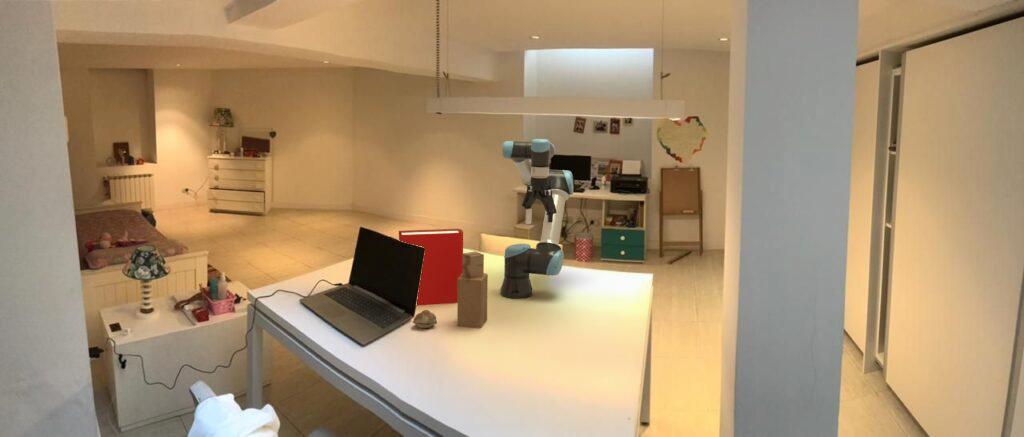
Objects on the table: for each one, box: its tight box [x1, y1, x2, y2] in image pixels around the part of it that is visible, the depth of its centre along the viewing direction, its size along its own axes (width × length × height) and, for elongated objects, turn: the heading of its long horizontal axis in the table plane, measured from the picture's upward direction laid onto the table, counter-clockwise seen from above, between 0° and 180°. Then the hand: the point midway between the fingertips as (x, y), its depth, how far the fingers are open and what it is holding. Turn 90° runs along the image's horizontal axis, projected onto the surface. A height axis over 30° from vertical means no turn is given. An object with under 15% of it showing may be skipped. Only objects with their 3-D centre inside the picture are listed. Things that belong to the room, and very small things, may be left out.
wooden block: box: [456, 272, 489, 329], centre depth 252 cm, size 10×10×20 cm
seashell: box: [412, 309, 438, 329], centre depth 248 cm, size 9×7×8 cm
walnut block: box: [463, 250, 485, 279], centre depth 249 cm, size 6×6×9 cm
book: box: [398, 228, 464, 307], centre depth 275 cm, size 27×8×32 cm, turn 104°
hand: (538, 226), depth 264 cm, fingers open, 13 cm apart
